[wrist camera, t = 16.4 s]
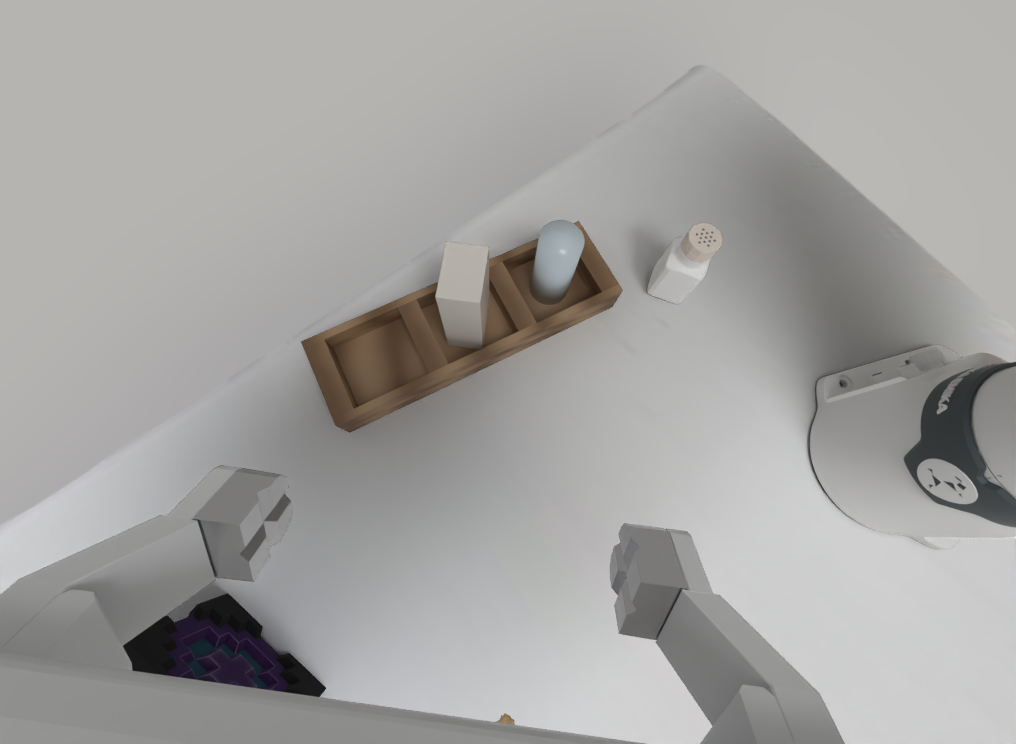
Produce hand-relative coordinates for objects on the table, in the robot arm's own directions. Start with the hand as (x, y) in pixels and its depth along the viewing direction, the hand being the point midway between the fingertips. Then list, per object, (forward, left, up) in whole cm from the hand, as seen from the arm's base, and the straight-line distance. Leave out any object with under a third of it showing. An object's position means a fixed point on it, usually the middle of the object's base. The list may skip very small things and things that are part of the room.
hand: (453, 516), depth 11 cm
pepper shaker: (-29, -11, -33) cm, 45 cm away
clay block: (-7, -16, -31) cm, 36 cm away
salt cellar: (-16, -16, -31) cm, 39 cm away
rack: (-7, -16, -32) cm, 37 cm away
